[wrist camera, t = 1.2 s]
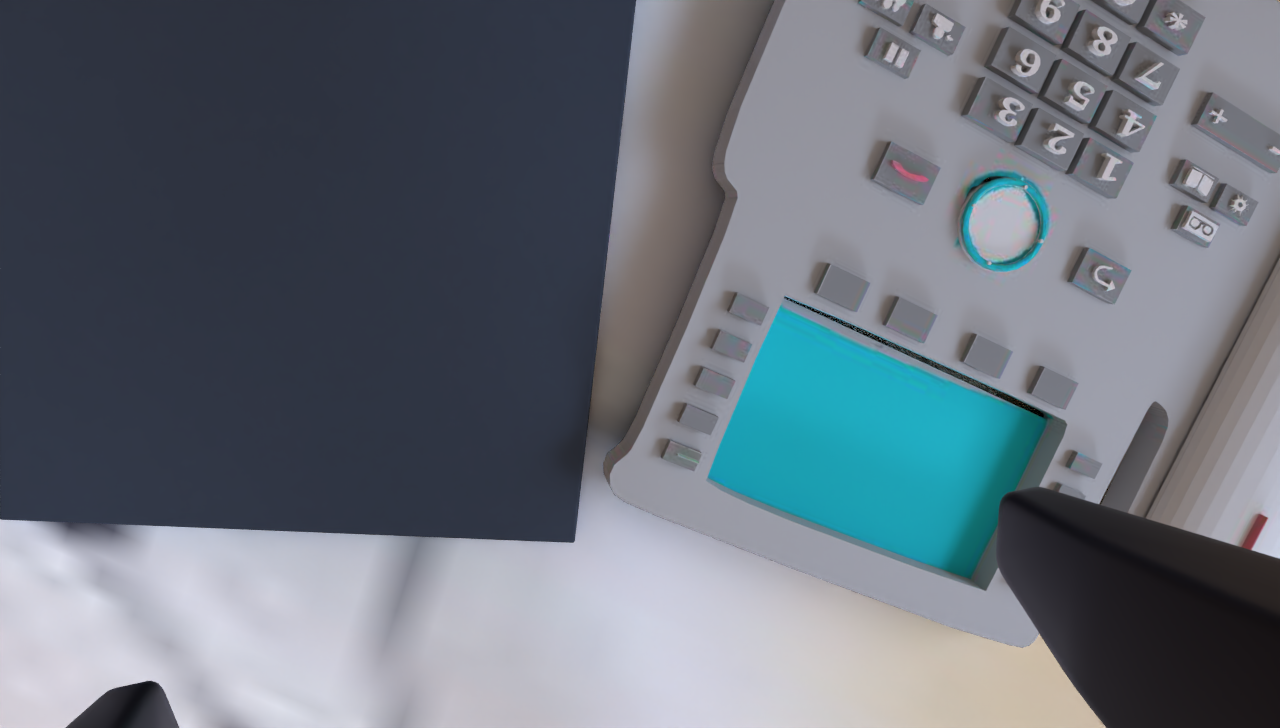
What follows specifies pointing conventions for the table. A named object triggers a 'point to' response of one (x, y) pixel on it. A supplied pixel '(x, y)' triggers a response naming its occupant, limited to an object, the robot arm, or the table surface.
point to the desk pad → (305, 261)
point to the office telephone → (978, 291)
